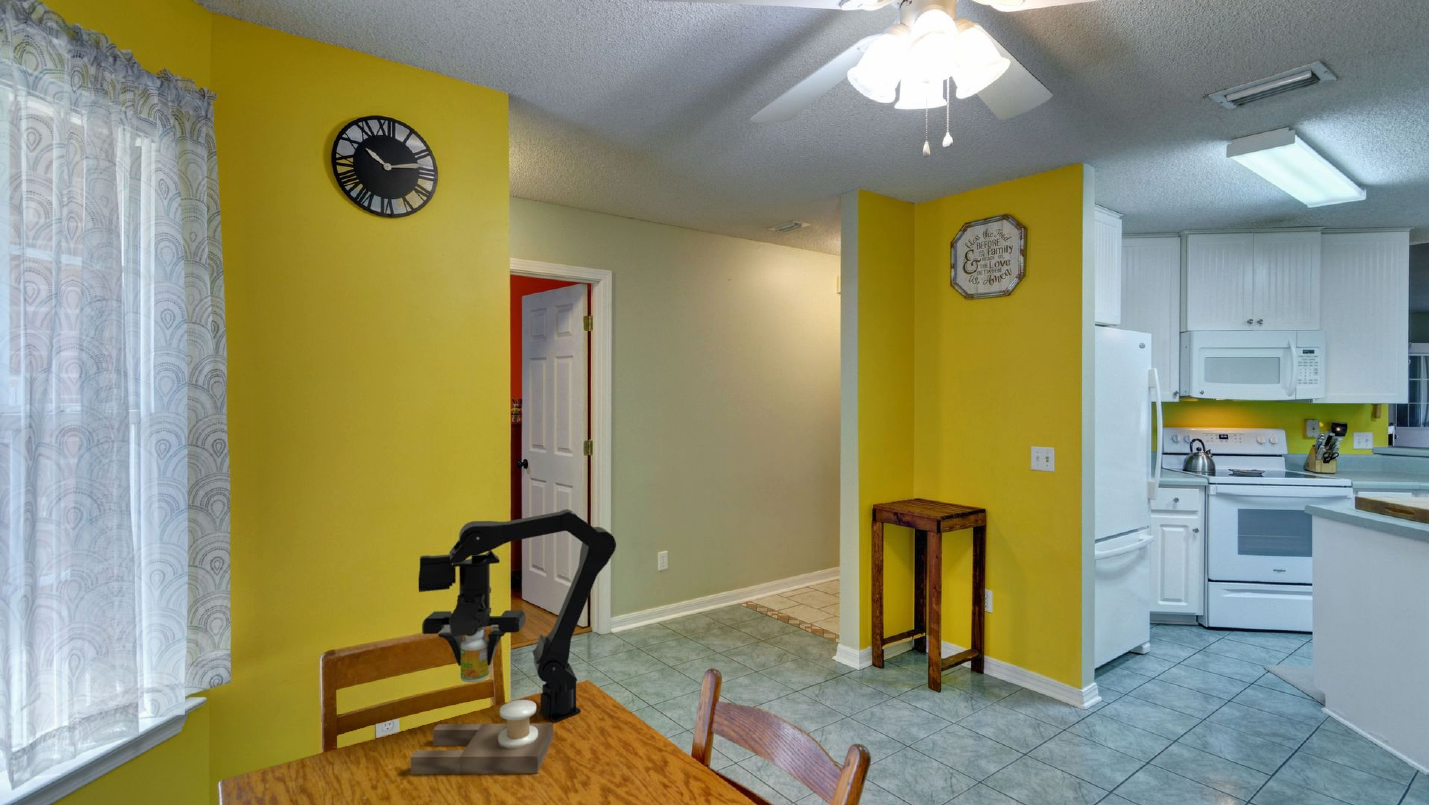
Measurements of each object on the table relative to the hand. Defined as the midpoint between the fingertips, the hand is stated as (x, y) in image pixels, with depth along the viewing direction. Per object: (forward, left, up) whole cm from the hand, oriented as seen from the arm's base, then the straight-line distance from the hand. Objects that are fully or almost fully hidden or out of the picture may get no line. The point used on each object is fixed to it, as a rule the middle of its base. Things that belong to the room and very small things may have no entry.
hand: (474, 664), depth 135 cm
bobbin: (0, +16, -9) cm, 19 cm away
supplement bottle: (0, 0, -3) cm, 3 cm away
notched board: (+4, +12, -12) cm, 17 cm away
